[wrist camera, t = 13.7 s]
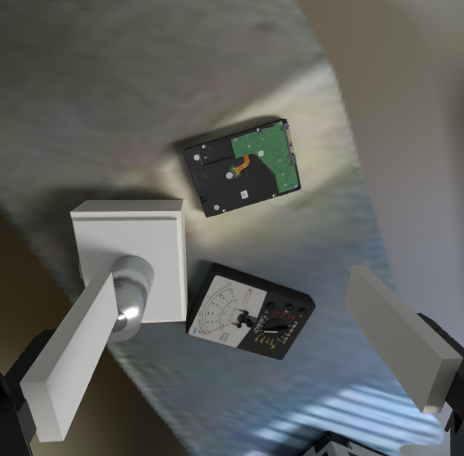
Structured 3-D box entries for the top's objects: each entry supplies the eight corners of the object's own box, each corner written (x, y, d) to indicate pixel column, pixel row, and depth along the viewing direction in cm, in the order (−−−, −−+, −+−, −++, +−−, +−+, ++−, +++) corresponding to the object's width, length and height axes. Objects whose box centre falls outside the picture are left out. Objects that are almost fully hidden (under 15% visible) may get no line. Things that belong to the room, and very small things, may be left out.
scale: (81, 200, 42) (61, 214, 36) (183, 199, 43) (179, 212, 37) (99, 302, 48) (85, 328, 42) (187, 299, 50) (185, 324, 44)
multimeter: (278, 347, 56) (284, 368, 51) (185, 320, 52) (183, 340, 47) (310, 294, 52) (321, 311, 47) (213, 260, 48) (213, 276, 43)
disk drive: (206, 213, 45) (297, 185, 44) (206, 219, 42) (303, 189, 42) (183, 148, 41) (282, 116, 40) (181, 151, 38) (287, 116, 38)
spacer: (106, 256, 38) (77, 299, 30) (151, 254, 39) (137, 296, 30) (113, 293, 41) (88, 344, 32) (156, 291, 41) (143, 340, 32)
